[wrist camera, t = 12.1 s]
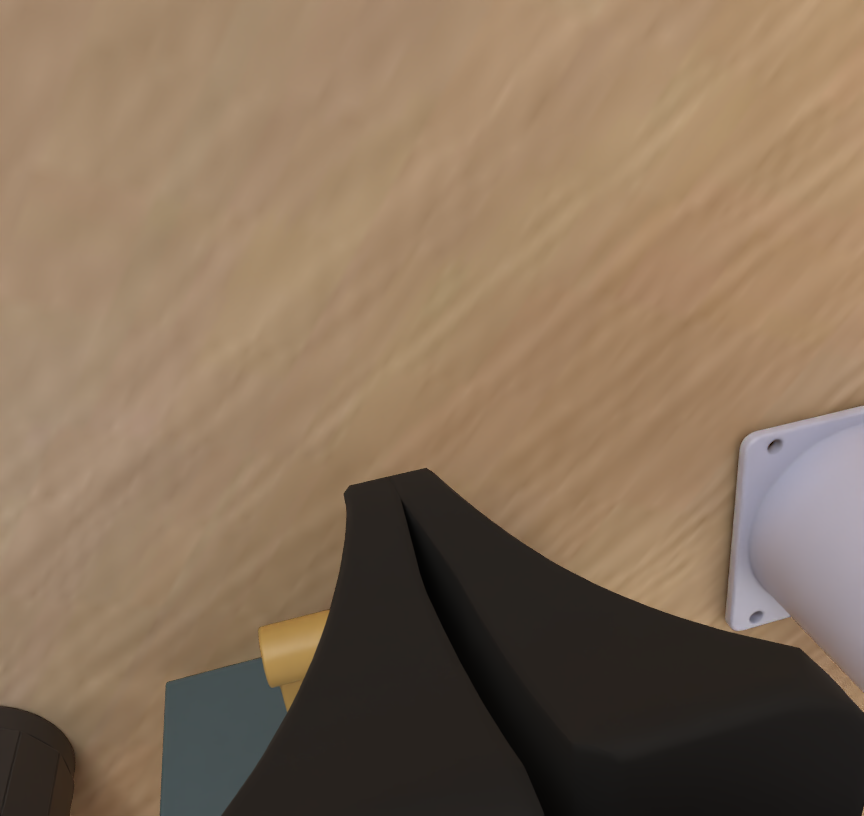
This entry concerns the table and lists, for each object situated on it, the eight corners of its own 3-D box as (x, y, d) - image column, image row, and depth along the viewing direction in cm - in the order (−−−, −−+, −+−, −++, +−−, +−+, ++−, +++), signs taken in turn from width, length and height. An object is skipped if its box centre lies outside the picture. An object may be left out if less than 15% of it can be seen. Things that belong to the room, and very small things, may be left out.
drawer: (125, 573, 21) (100, 774, 16) (572, 467, 23) (687, 612, 18) (257, 933, 29) (271, 1151, 24) (583, 829, 31) (664, 1007, 26)
